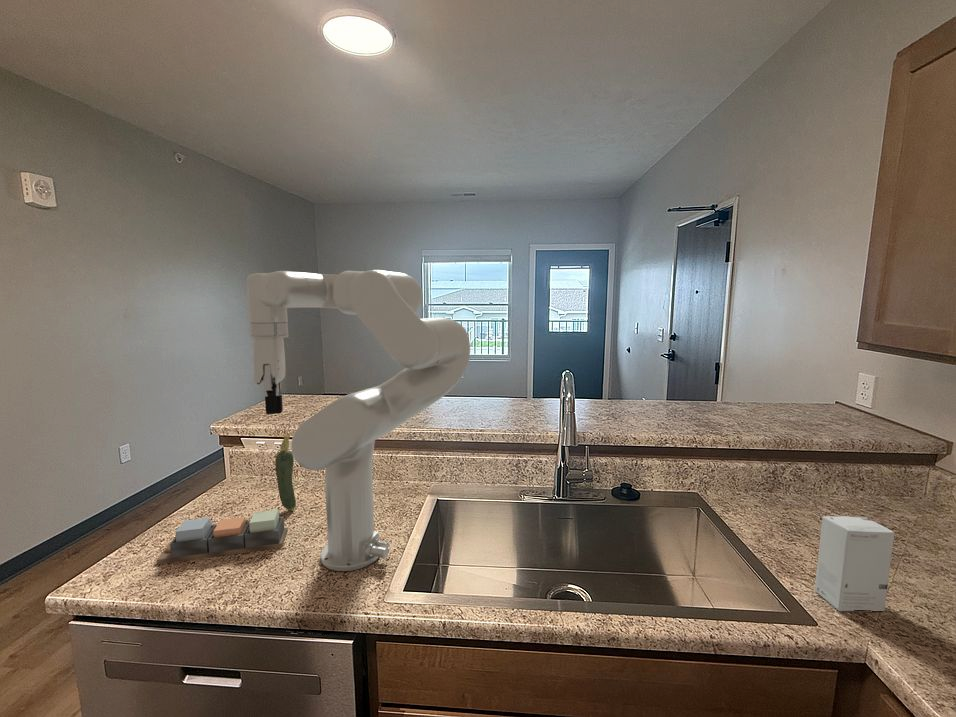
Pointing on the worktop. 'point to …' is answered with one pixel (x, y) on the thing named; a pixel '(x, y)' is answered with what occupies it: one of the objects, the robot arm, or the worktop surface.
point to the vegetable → (285, 475)
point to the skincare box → (854, 563)
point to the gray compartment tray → (224, 544)
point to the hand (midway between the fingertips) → (274, 412)
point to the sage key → (264, 521)
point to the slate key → (193, 529)
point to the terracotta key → (230, 527)
